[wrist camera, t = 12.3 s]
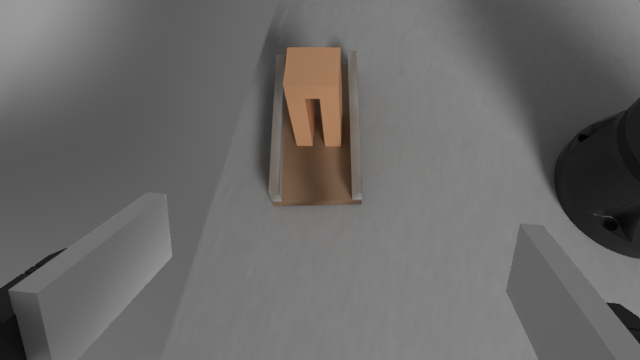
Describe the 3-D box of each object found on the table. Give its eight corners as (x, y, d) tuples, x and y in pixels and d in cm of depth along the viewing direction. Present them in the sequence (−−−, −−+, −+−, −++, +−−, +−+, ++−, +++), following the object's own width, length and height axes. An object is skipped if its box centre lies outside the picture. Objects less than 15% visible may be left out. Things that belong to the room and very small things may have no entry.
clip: (342, 113, 50) (340, 47, 40) (341, 146, 48) (338, 85, 38) (300, 113, 50) (287, 47, 40) (296, 145, 48) (282, 85, 38)
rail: (355, 71, 54) (356, 50, 50) (361, 203, 46) (362, 190, 43) (280, 74, 54) (276, 54, 51) (274, 205, 47) (268, 192, 43)
